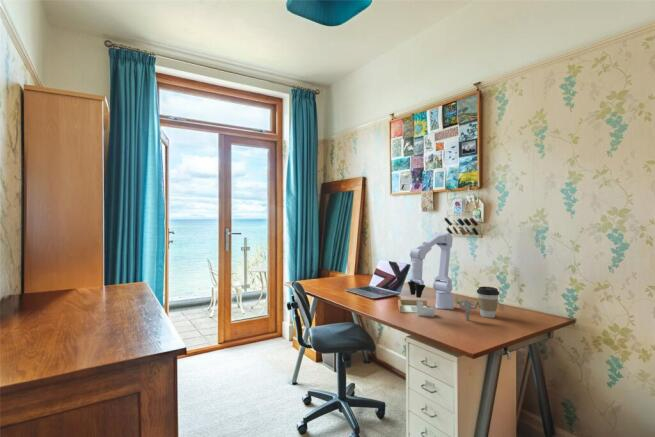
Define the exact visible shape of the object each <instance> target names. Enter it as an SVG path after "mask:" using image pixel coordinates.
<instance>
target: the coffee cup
mask: <svg viewBox="0 0 655 437" xmlns="http://www.w3.org/2000/svg"><path fill="white" fill-rule="evenodd" d="M476 293H477V298H478V303H479V305H478V306H479V307H478V308H479V315H480V317H483V318H487V319H494V318H495V317H496V315H497V314H496V313H497V308H498V302H499V296H500V291H499V290H498V288H496V287H492V286H479V287H478V289H476Z"/></svg>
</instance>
